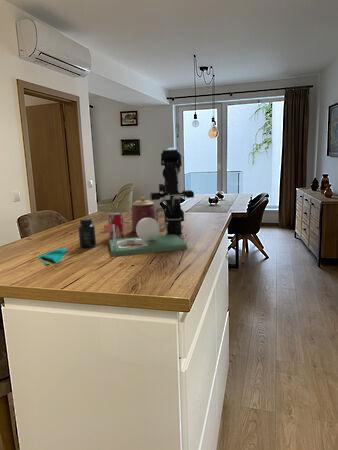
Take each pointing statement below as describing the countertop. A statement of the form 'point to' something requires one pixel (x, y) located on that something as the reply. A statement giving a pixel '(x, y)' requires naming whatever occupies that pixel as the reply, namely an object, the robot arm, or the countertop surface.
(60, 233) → the countertop surface
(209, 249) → the countertop surface
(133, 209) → the canister
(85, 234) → the supplement bottle
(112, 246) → the putting deck
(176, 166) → the robot arm
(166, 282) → the countertop surface
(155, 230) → the ball
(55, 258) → the cloth
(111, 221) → the soda can
